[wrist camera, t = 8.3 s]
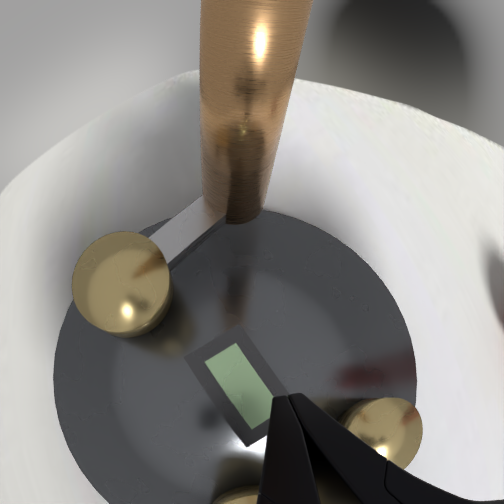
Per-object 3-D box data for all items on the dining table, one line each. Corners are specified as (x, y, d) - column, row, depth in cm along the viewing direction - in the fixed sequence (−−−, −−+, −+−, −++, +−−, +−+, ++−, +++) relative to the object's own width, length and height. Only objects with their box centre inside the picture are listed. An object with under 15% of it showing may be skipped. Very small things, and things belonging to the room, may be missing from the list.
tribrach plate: (450, 402, 14) (480, 398, 12) (195, 582, 8) (192, 608, 5) (280, 174, 21) (289, 144, 18) (22, 313, 14) (-5, 298, 11)
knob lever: (122, 357, 13) (-107, 222, 1) (70, 287, 14) (-83, 112, 3) (284, 208, 18) (354, -4, 6) (225, 163, 19) (242, -35, 7)
